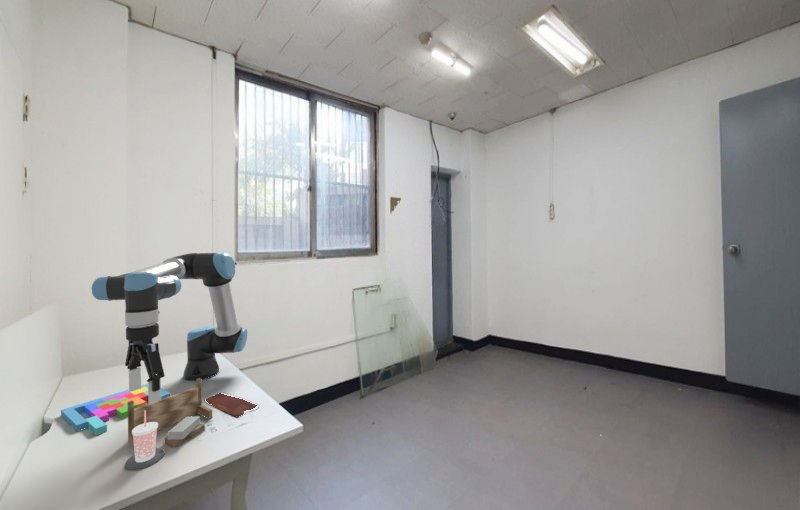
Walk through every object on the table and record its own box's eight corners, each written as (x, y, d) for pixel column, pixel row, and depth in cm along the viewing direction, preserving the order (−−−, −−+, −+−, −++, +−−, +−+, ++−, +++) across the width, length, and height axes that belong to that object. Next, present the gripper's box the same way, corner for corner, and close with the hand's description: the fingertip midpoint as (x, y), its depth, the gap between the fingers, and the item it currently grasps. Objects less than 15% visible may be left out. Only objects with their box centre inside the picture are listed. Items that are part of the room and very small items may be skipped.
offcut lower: (195, 428, 110) (195, 421, 110) (204, 431, 108) (204, 424, 108) (164, 445, 101) (164, 437, 101) (174, 449, 99) (174, 441, 99)
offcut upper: (186, 423, 109) (186, 416, 109) (200, 423, 109) (199, 416, 109) (168, 439, 100) (168, 431, 100) (182, 439, 100) (182, 431, 100)
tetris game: (61, 417, 118) (84, 441, 103) (60, 409, 118) (84, 432, 103) (150, 389, 142) (180, 405, 127) (150, 382, 142) (179, 398, 127)
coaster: (156, 446, 99) (156, 444, 99) (169, 456, 95) (169, 454, 95) (119, 463, 92) (119, 461, 92) (132, 474, 87) (132, 472, 87)
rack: (200, 411, 121) (199, 378, 121) (212, 417, 116) (211, 382, 116) (128, 441, 102) (127, 401, 102) (139, 450, 98) (138, 408, 97)
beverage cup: (145, 465, 90) (144, 416, 90) (126, 463, 91) (125, 415, 91) (163, 451, 96) (163, 406, 96) (145, 450, 97) (145, 404, 97)
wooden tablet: (261, 408, 124) (261, 404, 124) (237, 420, 116) (237, 415, 116) (224, 392, 139) (224, 388, 138) (200, 401, 130) (200, 397, 130)
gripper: (177, 327, 89) (179, 400, 90) (140, 317, 102) (142, 381, 103) (145, 334, 83) (147, 412, 83) (110, 321, 96) (112, 390, 96)
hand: (144, 395), depth 93 cm, fingers open, 13 cm apart
